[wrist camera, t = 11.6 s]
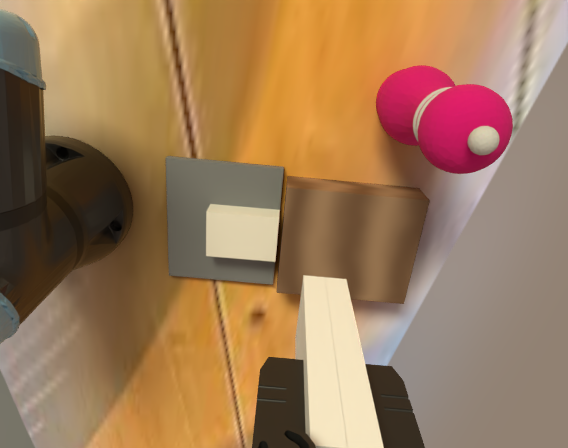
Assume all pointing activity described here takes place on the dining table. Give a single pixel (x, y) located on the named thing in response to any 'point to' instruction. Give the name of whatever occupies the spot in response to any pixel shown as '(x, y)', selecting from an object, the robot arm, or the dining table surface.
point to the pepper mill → (445, 118)
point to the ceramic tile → (242, 232)
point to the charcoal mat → (195, 202)
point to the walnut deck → (351, 236)
